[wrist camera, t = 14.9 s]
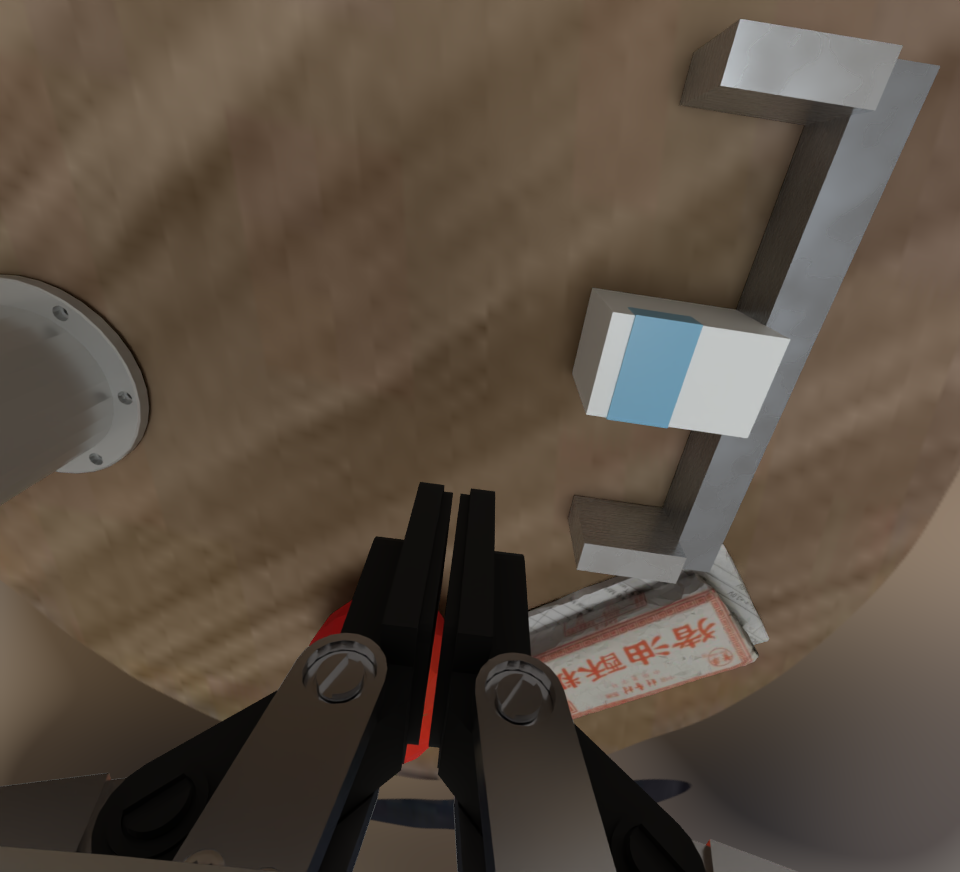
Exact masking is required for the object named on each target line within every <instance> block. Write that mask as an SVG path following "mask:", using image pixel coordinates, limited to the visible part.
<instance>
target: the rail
mask: <svg viewBox="0 0 960 872" xmlns="http://www.w3.org/2000/svg"><path fill="white" fill-rule="evenodd" d="M902 46H903V45H896V44H890V43H884V42H878V41H872V40H866V39H860V38H854V37H848V36H842V35H836V34H830V33H823V32H817V31H811V30H805V29H799V28H793V27H787V26H781V25H775V24H769V23H763V22H756V21H750V20H744V19H739V20H738V21H737V22H735V23H734V24H732V25H731V26H730V27H728V28H727V29H725V30H724V31H723V32H721V33H720V34H719V35H717V36H716V37H714V38H713V39H712V40H710V41H709V42H707V43H706V44H705V45H703V46H702V47H701V48H699V49H698V50H696V51H695V52H694V53H693V56H692V60H691V64H690V68H689V71H688V75H687V79H686V82H685V86H684V90H683V94H682V97H681V101H680V105H682V106H688V107H694V108H700V109H706V110H713V111H719V112H725V113H731V114H738V115H744V116H750V117H756V118H763V119H769V120H775V121H781V122H787V123H794V124H800V125H805V126H804V129H803V132H802V134H801V137H800V140H799V142H798V145H797V148H796V150H795V153H794V156H793V158H792V161H791V164H790V167H789V169H788V172H787V175H786V177H785V180H784V183H783V185H782V188H781V191H780V193H779V196H778V199H777V201H776V204H775V207H774V210H773V212H772V215H771V218H770V220H769V223H768V226H767V228H766V231H765V234H764V236H763V239H762V242H761V245H760V247H759V250H758V253H757V255H756V258H755V261H754V263H753V266H752V269H751V271H750V274H749V277H748V280H747V282H746V285H745V288H744V290H743V293H742V296H741V298H740V301H739V304H738V306H737V309H736V310H737V311H739V312H741V313H743V314H745V315H747V316H749V317H750V318H752V319H754V320H756V321H758V322H760V323H762V324H764V325H765V326H767V327H769V328H771V329H773V330H775V331H777V332H778V333H780V334H782V335H784V336H786V337H788V338H790V342H789V344H788V346H787V349H786V351H785V353H784V356H783V358H782V360H781V363H780V365H779V367H778V369H777V372H776V374H775V376H774V379H773V381H772V383H771V386H770V388H769V390H768V393H767V395H766V397H765V399H764V402H763V404H762V406H761V409H760V411H759V413H758V416H757V418H756V420H755V423H754V425H753V427H752V430H751V432H750V434H749V436H748V438H741V437H735V436H728V435H721V434H715V433H708V432H701V431H694V430H691V433H690V436H689V438H688V441H687V444H686V446H685V449H684V452H683V454H682V457H681V460H680V463H679V465H678V468H677V471H676V473H675V476H674V479H673V481H672V484H671V487H670V489H669V492H668V495H667V498H666V500H665V503H664V506H663V508H659V507H652V506H645V505H638V504H631V503H624V502H618V501H611V500H604V499H597V498H590V497H583V496H576V495H574V498H573V502H572V505H571V509H570V513H569V516H568V524H569V529H570V535H571V540H572V546H573V551H574V557H575V562H576V568H577V570H583V571H590V572H597V573H604V574H611V575H618V576H625V577H632V578H639V579H646V580H653V581H660V582H667V583H674V584H676V582H677V580H678V577H679V575H680V573H681V570H682V569H689V570H696V571H703V572H710V570H711V568H712V566H713V563H714V561H715V559H716V557H717V555H718V552H719V550H720V548H721V546H722V544H723V541H724V539H725V537H726V535H727V533H728V531H729V528H730V526H731V524H732V522H733V520H734V517H735V515H736V513H737V511H738V509H739V506H740V504H741V502H742V500H743V498H744V495H745V493H746V491H747V489H748V487H749V484H750V482H751V480H752V478H753V476H754V474H755V471H756V469H757V467H758V465H759V463H760V460H761V458H762V456H763V454H764V452H765V449H766V447H767V445H768V443H769V441H770V438H771V436H772V434H773V432H774V430H775V427H776V425H777V423H778V421H779V419H780V417H781V414H782V412H783V410H784V408H785V406H786V403H787V401H788V399H789V397H790V395H791V392H792V390H793V388H794V386H795V384H796V381H797V379H798V377H799V375H800V373H801V370H802V368H803V366H804V364H805V362H806V359H807V357H808V355H809V353H810V351H811V349H812V346H813V344H814V342H815V340H816V338H817V335H818V333H819V331H820V329H821V327H822V324H823V322H824V320H825V318H826V316H827V313H828V311H829V309H830V307H831V305H832V302H833V300H834V298H835V296H836V294H837V292H838V289H839V287H840V285H841V283H842V281H843V278H844V276H845V274H846V272H847V270H848V267H849V265H850V263H851V261H852V259H853V256H854V254H855V252H856V250H857V248H858V245H859V243H860V241H861V239H862V237H863V235H864V232H865V230H866V228H867V226H868V224H869V221H870V219H871V217H872V215H873V213H874V210H875V208H876V206H877V204H878V202H879V199H880V197H881V195H882V193H883V191H884V188H885V186H886V184H887V182H888V180H889V178H890V175H891V173H892V171H893V169H894V167H895V164H896V162H897V160H898V158H899V156H900V153H901V151H902V149H903V147H904V145H905V142H906V140H907V138H908V136H909V134H910V131H911V129H912V127H913V125H914V123H915V121H916V118H917V116H918V114H919V112H920V110H921V107H922V105H923V103H924V101H925V99H926V96H927V94H928V92H929V90H930V88H931V85H932V83H933V81H934V79H935V77H936V74H937V72H938V70H939V68H940V66H937V65H931V64H925V63H919V62H913V61H907V60H901V59H897V58H898V56H899V53H900V51H901V49H902Z"/></svg>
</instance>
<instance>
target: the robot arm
mask: <svg viewBox="0 0 960 872" xmlns="http://www.w3.org/2000/svg"><path fill="white" fill-rule="evenodd" d="M148 414H149V403H148V395H147V389H146V386H145V383H144V380H143V377H142V374H141V371H140V369H139V367H138V365H137V363H136V361H135V359H134V358H133V356H132V354H131V352H130V351H129V349H128V348H127V347H126V345H125V344H124V342H123V341H122V340H121V338H120V337H119V336H118V334H117V333H116V332H115V331H114V330H113V329H112V328H111V327H110V326H109V325H108V324H107V323H106V322H105V321H104V320H103V319H102V318H101V317H100V316H99V315H98V314H96V313H95V312H94V311H93V310H91V309H90V308H89V307H88V306H86V305H85V304H84V303H83V302H81V301H79V300H78V299H76V298H74V297H73V296H71V295H69V294H67V293H66V292H64V291H62V290H61V289H58V288H56V287H53V286H51V285H49V284H46V283H44V282H41V281H39V280H34V279H30V278H26V277H22V276H18V275H0V506H1V505H2V504H4V503H5V502H7V501H9V500H10V499H12V498H13V497H15V496H16V495H18V494H20V493H21V492H23V491H24V490H26V489H28V488H29V487H31V486H32V485H34V484H36V483H37V482H39V481H40V480H42V479H43V478H45V477H47V476H48V475H50V474H51V473H53V472H55V471H56V472H62V473H87V472H95V471H98V470H101V469H104V468H107V467H110V466H111V465H113V464H114V463H116V462H118V461H119V460H121V459H122V458H124V457H125V456H126V455H127V454H129V453H130V452H131V451H132V450H134V449H135V447H136V446H137V445H138V443H139V442H140V440H141V439H142V437H143V435H144V432H145V429H146V426H147V424H148ZM452 497H453V493H451V492H444V485H440V484H432V483H424V482H420V484H419V487H418V491H417V495H416V498H415V502H414V506H413V509H412V513H411V517H410V521H409V524H408V528H407V532H406V535H405V539H404V540H401V539H393V538H385V537H377V536H376V537H375V538H374V541H373V543H372V546H371V549H370V551H369V554H368V557H367V560H366V563H365V565H364V568H363V571H362V574H361V577H360V579H359V582H358V585H357V588H356V591H355V593H354V596H353V599H352V602H351V605H350V607H349V610H348V613H347V616H346V619H345V621H344V624H343V627H342V630H341V633H340V634H332V635H329V636H327V637H324V638H322V639H319V640H317V641H316V642H314V643H313V644H311V645H310V646H309V647H307V648H306V649H305V650H304V651H303V653H302V654H301V655H300V656H299V657H298V659H297V660H296V662H295V663H294V665H293V667H292V668H291V670H290V671H289V673H288V675H287V676H286V678H285V679H284V681H283V683H282V684H281V686H280V688H279V689H278V690H277V691H275V692H273V693H272V694H270V695H268V696H266V697H265V698H263V699H261V700H259V701H258V702H256V703H254V704H252V705H250V706H249V707H247V708H245V709H243V710H242V711H240V712H238V713H236V714H234V715H233V716H231V717H229V718H227V719H226V720H224V721H222V722H220V723H218V724H217V725H215V726H213V727H211V728H210V729H208V730H206V731H204V732H202V733H201V734H199V735H197V736H195V737H194V738H192V739H190V740H188V741H186V742H185V743H183V744H181V745H179V746H178V747H176V748H174V749H172V750H170V751H169V752H167V753H165V754H163V755H162V756H160V757H158V758H156V759H154V760H153V761H151V762H149V763H147V764H146V765H144V766H143V767H141V768H140V769H139V770H137V771H136V772H134V773H133V774H131V775H130V776H129V777H127V778H121V779H113V780H111V778H110V775H109V773H103V774H95V775H87V776H79V777H71V778H63V779H56V780H48V781H41V782H32V783H24V784H17V785H9V786H0V872H352V871H353V868H354V865H355V863H356V860H357V857H358V854H359V851H360V848H361V845H362V842H363V839H364V836H365V833H366V830H367V827H368V825H369V821H370V819H371V816H372V813H373V810H374V807H375V804H376V801H377V798H378V793H379V787H381V786H382V785H383V784H384V783H385V782H387V781H388V780H389V779H391V778H392V777H393V776H394V775H396V774H397V773H398V772H399V771H401V767H402V764H404V761H405V755H406V749H407V744H412V745H419V740H420V733H421V726H422V719H423V712H424V705H425V698H426V691H427V684H428V677H429V671H430V664H431V657H432V650H433V643H434V636H435V629H436V622H437V615H438V608H439V601H440V594H441V587H442V579H443V571H444V562H445V554H446V546H447V538H448V530H449V522H450V513H451V505H452ZM494 545H495V491H487V490H479V489H471V492H470V495H467V494H461V496H460V503H459V511H458V518H457V526H456V534H455V541H454V549H453V557H452V564H451V572H450V580H449V587H448V595H447V603H446V611H445V618H444V626H443V634H442V642H441V650H440V658H439V665H438V673H437V681H436V689H435V697H434V705H433V713H432V720H431V728H430V736H429V744H428V746H429V747H438V748H439V758H438V767H437V768H439V770H438V775H439V776H440V778H441V779H442V780H443V782H444V783H445V784H446V786H447V787H448V788H449V789H450V791H451V792H452V793H453V795H454V796H455V798H454V820H455V836H456V853H457V871H458V872H797V871H794V870H792V869H789V868H786V867H784V866H781V865H778V864H776V863H773V862H770V861H768V860H765V859H762V858H759V857H757V856H754V855H751V854H749V853H746V852H744V851H741V850H738V849H735V848H733V847H730V846H727V845H725V844H722V843H719V842H717V841H714V840H711V839H710V840H709V841H708V843H707V844H706V845H704V844H702V843H699V842H697V841H694V840H691V838H690V837H689V836H688V835H687V834H686V833H685V831H684V830H683V829H682V828H681V827H680V825H679V824H678V823H677V822H676V821H675V820H674V819H673V818H672V817H671V816H670V815H669V814H668V813H667V812H665V811H664V810H663V809H662V808H661V807H660V806H659V805H658V804H657V803H656V802H655V801H654V800H653V799H652V798H651V797H650V796H649V795H648V794H647V793H646V792H645V791H644V790H643V789H642V788H641V787H640V786H638V785H637V784H636V783H635V782H634V781H633V780H632V779H631V778H630V777H629V776H628V775H627V774H626V773H625V772H624V771H623V770H622V769H621V768H620V767H619V766H618V765H617V764H616V763H615V762H613V761H612V760H611V759H610V758H609V757H608V756H607V755H606V754H605V753H604V752H603V751H602V750H601V749H600V748H599V747H598V746H597V745H596V744H595V743H594V742H593V741H592V740H591V739H590V738H589V737H588V736H586V735H585V734H584V733H583V732H582V731H581V730H580V729H579V728H578V727H577V726H576V725H575V724H574V723H573V719H572V716H571V712H570V709H569V705H568V702H567V698H566V695H565V691H564V689H563V687H562V684H561V682H560V680H559V678H558V677H557V675H556V674H555V673H554V672H553V671H552V669H551V668H550V667H549V666H547V665H546V664H544V663H543V662H542V661H540V660H539V659H537V658H534V657H532V656H531V646H530V632H529V617H528V602H527V588H526V573H525V560H524V556H523V555H522V554H514V553H506V552H498V551H494Z"/></svg>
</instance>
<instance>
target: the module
mask: <svg viewBox="0 0 960 872" xmlns="http://www.w3.org/2000/svg"><path fill="white" fill-rule="evenodd" d="M789 342H790V338H788V337H786V336H784V335H782V334H780V333H778V332H777V331H775V330H773V329H771V328H769V327H767V326H765V325H764V324H762V323H760V322H758V321H756V320H754V319H752V318H750V317H749V316H747V315H745V314H743V313H741V312H739V311H737V310H735V309H729V308H722V307H716V306H709V305H703V304H696V303H690V302H683V301H677V300H670V299H663V298H657V297H650V296H644V295H637V294H631V293H624V292H618V291H611V290H605V289H598V288H592V291H591V295H590V299H589V304H588V308H587V312H586V316H585V321H584V325H583V329H582V333H581V338H580V342H579V346H578V350H577V355H576V359H575V363H574V367H573V371H572V375H573V378H574V381H575V384H576V386H577V389H578V392H579V395H580V398H581V401H582V404H583V407H584V410H585V412H586V415H593V416H600V417H606V419H608V420H615V421H622V422H628V423H635V424H642V425H649V426H655V427H662V428H668V427H674V428H681V429H688V430H694V431H701V432H708V433H715V434H721V435H728V436H735V437H741V438H748V436H749V434H750V432H751V430H752V427H753V425H754V423H755V420H756V418H757V416H758V413H759V411H760V409H761V406H762V404H763V402H764V399H765V397H766V395H767V393H768V390H769V388H770V386H771V383H772V381H773V379H774V376H775V374H776V372H777V369H778V367H779V365H780V363H781V360H782V358H783V356H784V353H785V351H786V349H787V346H788V344H789Z"/></svg>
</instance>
